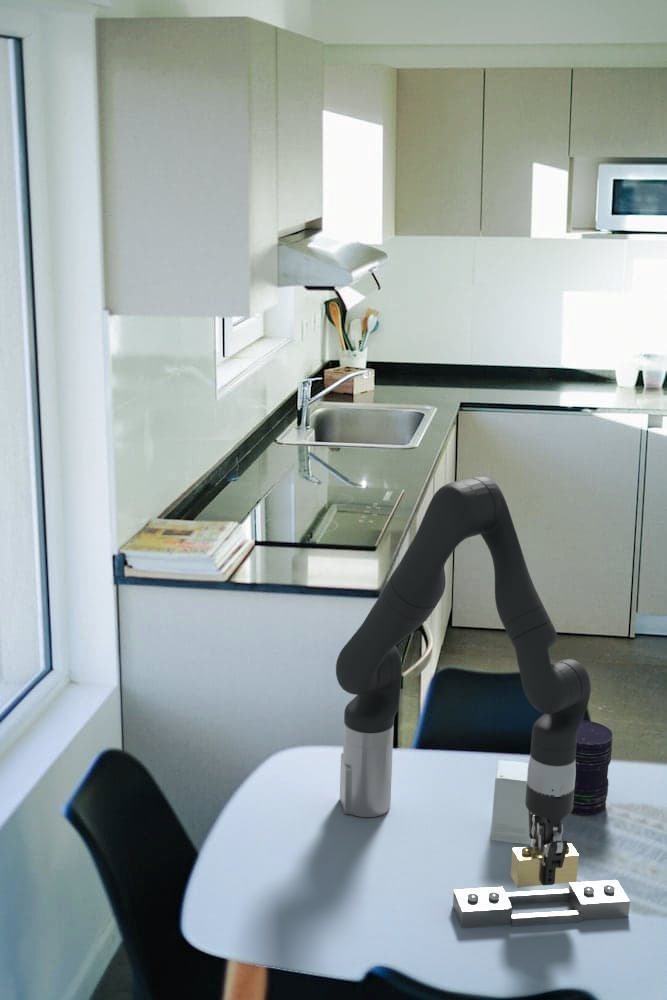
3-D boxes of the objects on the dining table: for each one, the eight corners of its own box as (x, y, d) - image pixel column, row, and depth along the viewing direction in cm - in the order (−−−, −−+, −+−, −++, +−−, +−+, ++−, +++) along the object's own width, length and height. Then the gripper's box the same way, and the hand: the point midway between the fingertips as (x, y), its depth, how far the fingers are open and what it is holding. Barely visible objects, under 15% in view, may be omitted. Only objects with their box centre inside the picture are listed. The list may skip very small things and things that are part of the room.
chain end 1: (462, 929, 199) (463, 910, 198) (452, 903, 206) (453, 884, 205) (546, 924, 201) (548, 904, 200) (534, 898, 208) (535, 879, 207)
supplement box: (531, 846, 223) (536, 782, 220) (489, 840, 225) (494, 777, 221) (533, 824, 230) (538, 763, 227) (493, 819, 231) (497, 758, 228)
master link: (517, 887, 200) (519, 856, 198) (510, 875, 203) (512, 844, 202) (576, 882, 202) (579, 851, 200) (568, 870, 205) (571, 840, 204)
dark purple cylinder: (614, 799, 240) (621, 729, 235) (595, 822, 232) (602, 749, 227) (565, 784, 245) (571, 715, 240) (545, 806, 237) (551, 734, 232)
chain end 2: (546, 924, 201) (548, 904, 200) (534, 898, 208) (535, 879, 207) (629, 918, 203) (631, 899, 202) (614, 893, 210) (616, 875, 209)
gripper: (515, 761, 204) (509, 854, 209) (541, 805, 190) (533, 903, 195) (559, 759, 205) (552, 851, 210) (588, 803, 191) (579, 900, 196)
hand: (543, 876), depth 202 cm, fingers closed on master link, 3 cm apart
